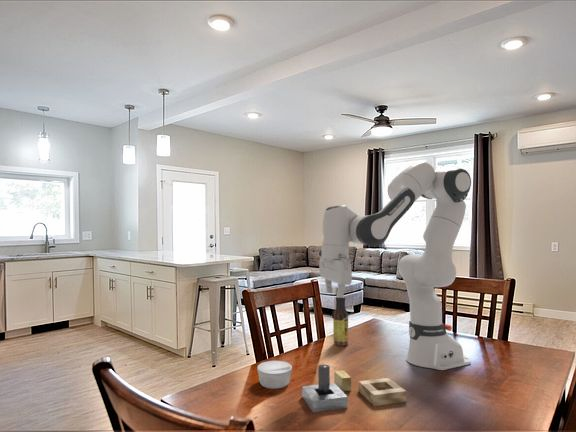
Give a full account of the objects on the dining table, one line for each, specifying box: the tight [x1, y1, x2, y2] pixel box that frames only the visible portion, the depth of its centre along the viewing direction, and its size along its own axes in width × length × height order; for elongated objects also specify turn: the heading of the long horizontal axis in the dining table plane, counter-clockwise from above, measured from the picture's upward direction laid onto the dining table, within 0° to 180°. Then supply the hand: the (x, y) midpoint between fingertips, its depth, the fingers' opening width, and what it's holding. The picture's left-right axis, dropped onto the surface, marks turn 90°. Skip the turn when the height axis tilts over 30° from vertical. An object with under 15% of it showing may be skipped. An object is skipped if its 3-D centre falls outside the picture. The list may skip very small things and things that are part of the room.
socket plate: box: [301, 382, 349, 413], centre depth 111 cm, size 10×10×3 cm
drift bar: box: [333, 370, 352, 393], centre depth 121 cm, size 3×6×4 cm, turn 15°
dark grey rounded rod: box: [317, 364, 331, 396], centre depth 111 cm, size 3×3×10 cm
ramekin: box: [256, 360, 293, 390], centre depth 124 cm, size 11×11×5 cm
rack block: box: [358, 377, 407, 407], centre depth 114 cm, size 10×10×3 cm
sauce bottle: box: [332, 295, 349, 347], centre depth 165 cm, size 7×6×20 cm
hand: (334, 294), depth 130 cm, fingers open, 8 cm apart
